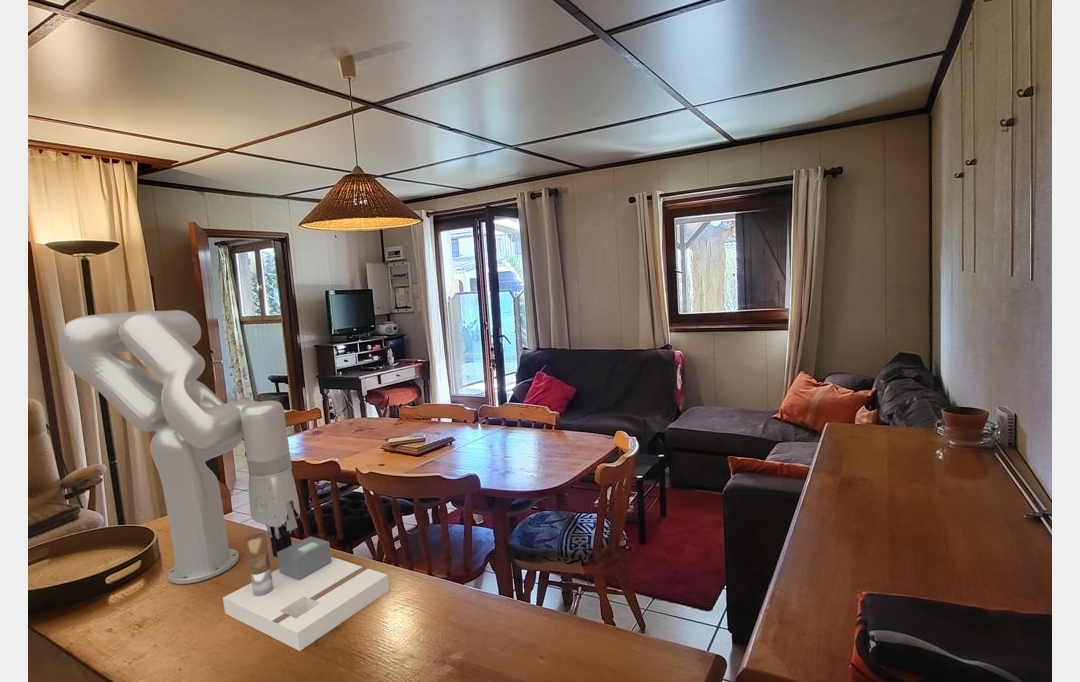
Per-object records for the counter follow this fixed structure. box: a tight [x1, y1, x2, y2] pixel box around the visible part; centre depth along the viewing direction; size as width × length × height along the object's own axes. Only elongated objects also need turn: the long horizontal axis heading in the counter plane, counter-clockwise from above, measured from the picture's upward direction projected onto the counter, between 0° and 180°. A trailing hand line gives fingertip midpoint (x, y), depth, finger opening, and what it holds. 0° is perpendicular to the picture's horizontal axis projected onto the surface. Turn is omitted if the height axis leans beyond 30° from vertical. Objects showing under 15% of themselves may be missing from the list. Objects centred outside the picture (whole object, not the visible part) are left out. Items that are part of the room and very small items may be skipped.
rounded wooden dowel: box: [245, 533, 273, 596], centre depth 95 cm, size 3×3×10 cm
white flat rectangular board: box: [222, 556, 390, 652], centre depth 96 cm, size 22×18×3 cm
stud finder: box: [277, 535, 332, 580], centre depth 102 cm, size 6×7×4 cm
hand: (282, 553), depth 107 cm, fingers closed
